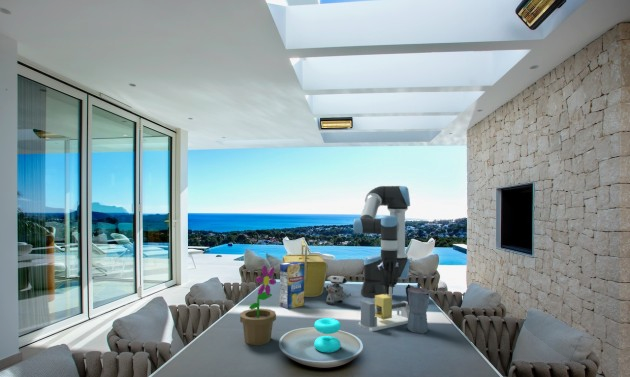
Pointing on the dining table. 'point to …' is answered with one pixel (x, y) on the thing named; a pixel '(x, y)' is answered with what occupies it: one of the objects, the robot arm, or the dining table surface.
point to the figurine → (335, 289)
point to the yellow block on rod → (384, 306)
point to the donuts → (327, 342)
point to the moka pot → (417, 308)
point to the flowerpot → (259, 314)
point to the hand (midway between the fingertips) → (388, 301)
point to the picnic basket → (310, 271)
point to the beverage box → (291, 285)
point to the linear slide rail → (376, 323)
